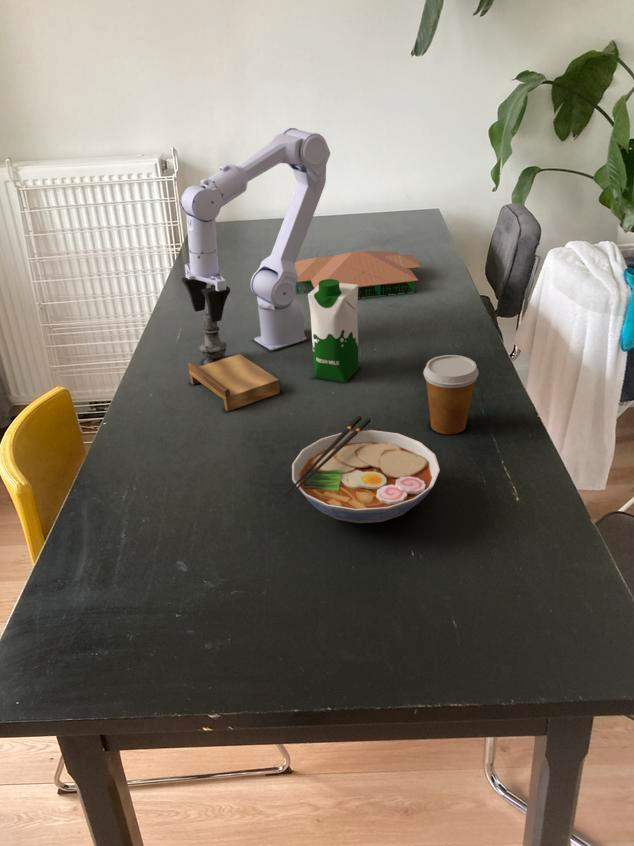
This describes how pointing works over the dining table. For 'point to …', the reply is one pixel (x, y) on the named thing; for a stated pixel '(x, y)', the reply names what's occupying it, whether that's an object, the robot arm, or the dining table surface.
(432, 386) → the disposable coffee cup
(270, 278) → the robot arm
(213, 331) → the grey stone finial
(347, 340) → the milk carton
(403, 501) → the ramen bowl
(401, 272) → the house
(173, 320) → the dining table surface
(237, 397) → the shelf stand
